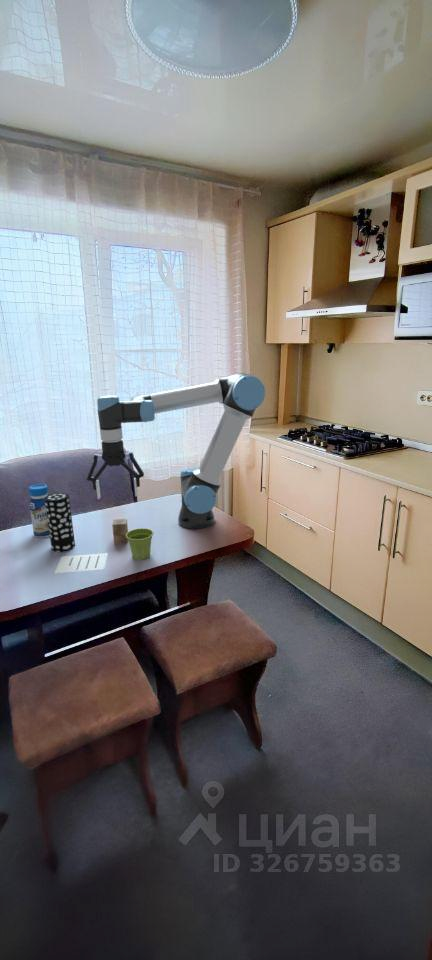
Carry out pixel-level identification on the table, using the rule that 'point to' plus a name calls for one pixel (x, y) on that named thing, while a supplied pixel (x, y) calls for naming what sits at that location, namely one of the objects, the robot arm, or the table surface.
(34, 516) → the beverage bottle
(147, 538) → the plant pot
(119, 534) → the block
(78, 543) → the table surface
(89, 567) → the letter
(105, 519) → the table surface
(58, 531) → the white-spotted black cylinder
